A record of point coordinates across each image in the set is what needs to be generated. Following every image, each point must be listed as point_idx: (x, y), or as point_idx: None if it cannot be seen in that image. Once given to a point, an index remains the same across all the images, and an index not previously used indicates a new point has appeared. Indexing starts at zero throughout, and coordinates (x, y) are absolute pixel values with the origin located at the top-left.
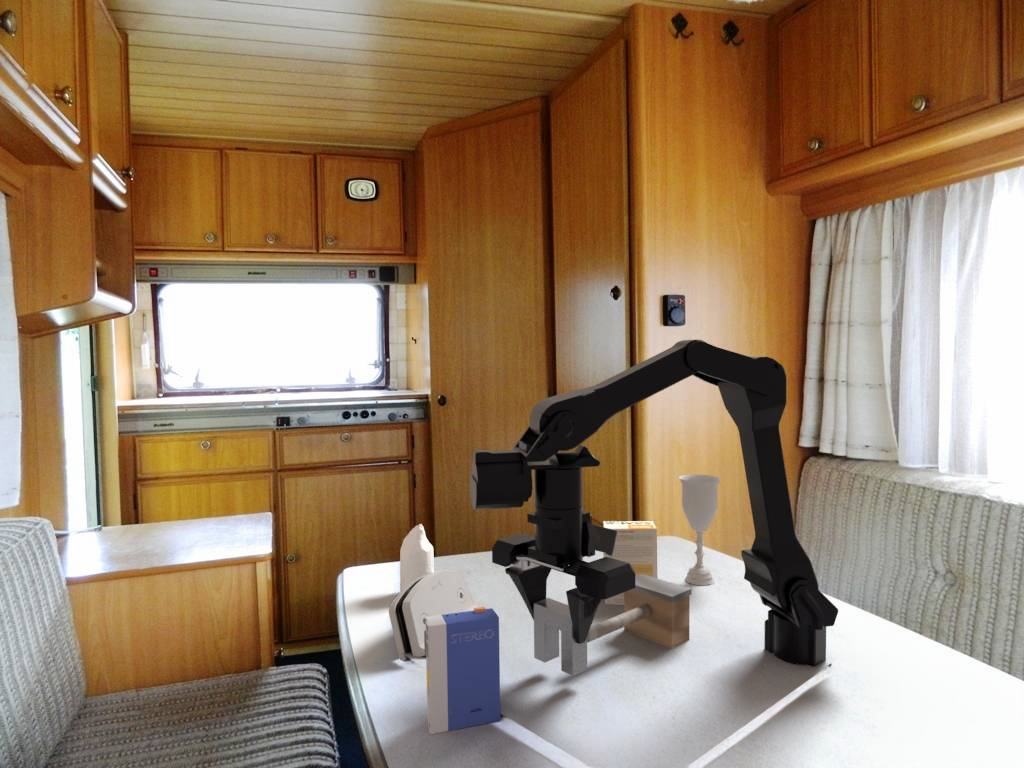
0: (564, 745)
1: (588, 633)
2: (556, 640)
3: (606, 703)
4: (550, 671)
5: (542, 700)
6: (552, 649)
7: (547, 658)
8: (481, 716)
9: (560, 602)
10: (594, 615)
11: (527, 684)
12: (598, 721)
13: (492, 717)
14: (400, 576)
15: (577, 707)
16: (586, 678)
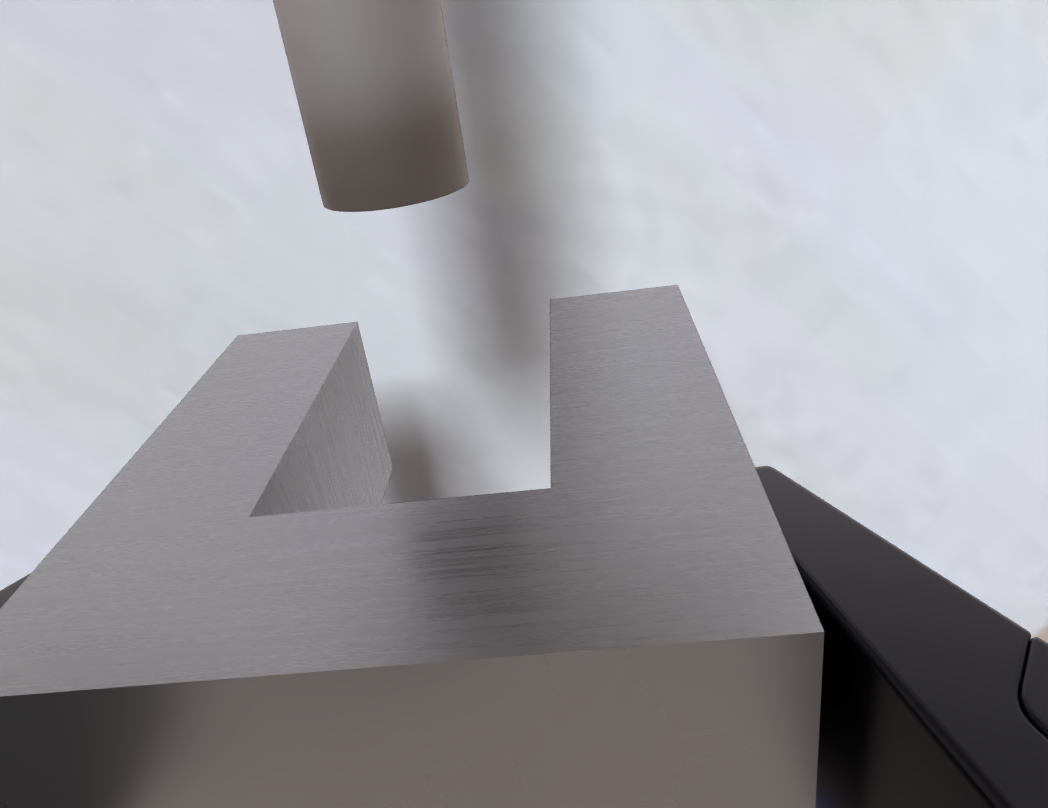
0: None
1: (424, 93)
2: (328, 417)
3: (821, 201)
4: (246, 226)
5: (537, 475)
6: (360, 434)
7: (383, 454)
8: None
9: (199, 681)
10: (1034, 637)
11: None
12: (917, 376)
13: None
14: None
15: (725, 374)
16: (471, 74)
